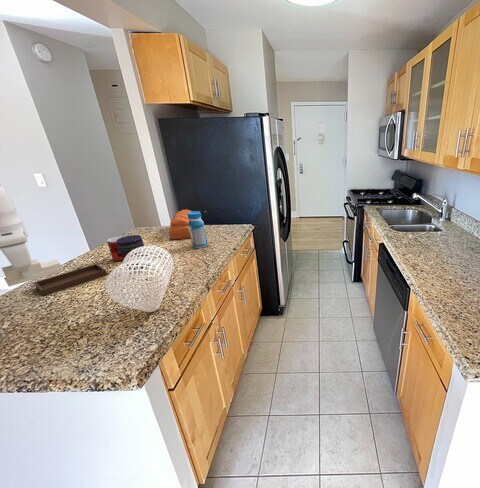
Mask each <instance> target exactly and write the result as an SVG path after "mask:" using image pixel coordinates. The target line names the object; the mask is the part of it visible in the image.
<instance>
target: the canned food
mask: <svg viewBox="0 0 480 488" xmlns="http://www.w3.org/2000/svg"><path fill="white" fill-rule="evenodd" d="M122 237H124V236H122V235H121V236H114V237H110V238H108V239H106V244H107V247H108V249H109V252H110V255H111V258H112V259H113V261H114V262H123V257H122V254H121V253H120V251H119V248H118V244H117V241H116V240H117V239H119V238H122Z"/></svg>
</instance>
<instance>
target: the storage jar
mask: <svg viewBox="0 0 480 488" xmlns="http://www.w3.org/2000/svg"><path fill="white" fill-rule="evenodd" d="M116 241H117V244H118V248H119V251H120V253H121V254H122V257H123V260H124V258H125V257H126V255H127V254H128V253H129V252H131V251H132V250H134V249H136V248H139V247H142V246H145V243H144V240H143V236H142V235H140V234H132V235H127V236H126V235H125V236H123V237H122V238H119V239H117V240H116ZM144 250H146V249H144ZM137 251H138V250H137ZM141 251H142V250H141ZM135 252H136V251H135ZM132 253H134V252H132ZM139 253H141V252H139ZM139 253H138V254H139ZM142 253H143V252H142ZM135 255H137V253H135ZM132 256H133V255H132ZM132 256H131V257H132ZM142 256H144V255H141V257H142ZM145 256H148V255H145ZM137 257H140V255H139V256H137ZM135 258H136V257H135ZM128 259H129V258H128ZM130 259H131V258H130ZM137 259H139V258H137ZM144 259H146V258H144ZM133 260H135V259H133ZM128 261H129V260H128ZM129 262H130V261H129ZM124 263H125V262H124ZM135 263H136V262H135ZM143 263H145V262H143ZM148 264H150V263H148ZM132 265H134V264H132ZM132 265H131V266H132ZM136 265H139V264H136ZM142 265H143V264H142ZM144 265H145V264H144ZM127 266H129V264H128V265H127ZM146 266H147V264H146ZM148 266H150V265H148ZM132 268H133V267H132ZM136 268H137V269H138V267H136ZM143 268H144V267H141V269H143ZM145 268H146V267H145ZM125 269H126V268H125ZM130 269H131V267H129V270H130ZM146 269H147V268H146ZM133 270H136V269H135V268H134V269H133ZM139 270H140V268H139ZM126 271H127V269H126Z"/></svg>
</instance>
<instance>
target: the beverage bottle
mask: <svg viewBox="0 0 480 488" xmlns="http://www.w3.org/2000/svg"><path fill="white" fill-rule="evenodd" d="M187 215H188V219H189V223H188V226H189V231H190V235H191V237H190V239H191V244H192V245H191V246H192V247H193V248H194V249H201V248H205V247H207V246H209V245H208V244H209V243H208V239H207V233H206V225H205V223H204V221H203V220H202V213H201V211H199V210H194V211H193V212H189V213H187Z"/></svg>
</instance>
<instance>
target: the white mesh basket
mask: <svg viewBox="0 0 480 488" xmlns="http://www.w3.org/2000/svg"><path fill="white" fill-rule="evenodd" d="M144 249H145V250H144ZM137 250H138V251H137ZM141 250H142V251H141ZM135 251H136V252H135ZM132 252H134V253H132ZM139 252H141V253H139ZM142 252H143V253H142ZM135 253H137V255H135ZM138 253H139V254H138ZM132 255H133V256H132ZM139 255H140V257H137V256H139ZM141 255H144V256H142V257H141ZM145 255H147V256H145ZM131 256H132V257H131ZM135 257H136V258H135ZM128 258H129V259H128ZM130 258H131V259H130ZM137 258H139V259H137ZM144 258H146V259H144ZM133 259H135V260H133ZM128 260H129V261H130V262H129V261H128ZM124 262H125V263H124ZM135 262H136V263H135ZM143 262H145V263H143ZM148 263H149V264H148ZM128 264H129V266H127V265H128ZM132 264H134V265H132ZM136 264H139V265H136ZM142 264H143V265H142ZM144 264H145V265H144ZM146 264H147V266H146ZM131 265H132V266H131ZM148 265H149V266H148ZM129 267H131V269H130V270H129ZM132 267H133V268H132ZM136 267H138V269H137V268H136ZM141 267H144V268H143V269H141ZM145 267H146V268H145ZM134 268H135V269H136V270H133V269H134ZM139 268H140V270H139ZM173 268H174V261H173V257H172V255H171V253H170V252H169V251H168V250H166V249H164V248H163V247H161V246H157V245H144V246H142V247H139V248H136V249H134V250H132V251H131V252H129V253H128V254H127V255H126V257H125V258H124V260H123V261H122V263H121V265H119V266H117V267H115V268H114V269H113V270H112V271H111V272H110V273H109V274H107V277H106V279H105V281H104V288H105V291H106V294H107V295H108V296H109V298H110V299H112V301H114V302H115V303H117V304H119V305H121V306H123V307H126V308H129V309H134V310H139V311H142V312H147V313H153V312H156V311H157V310H159V307H160V306H161V303H162V301H163V298H164V296H165V294H166V291H167V288H168V285H169V282H170V279H171V277H172V273H173ZM126 269H127V271H126ZM150 278H151V280H150ZM146 279H147V280H146ZM156 282H157V283H156ZM146 284H147V285H146ZM135 286H136V287H135ZM149 295H150V296H149Z"/></svg>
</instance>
